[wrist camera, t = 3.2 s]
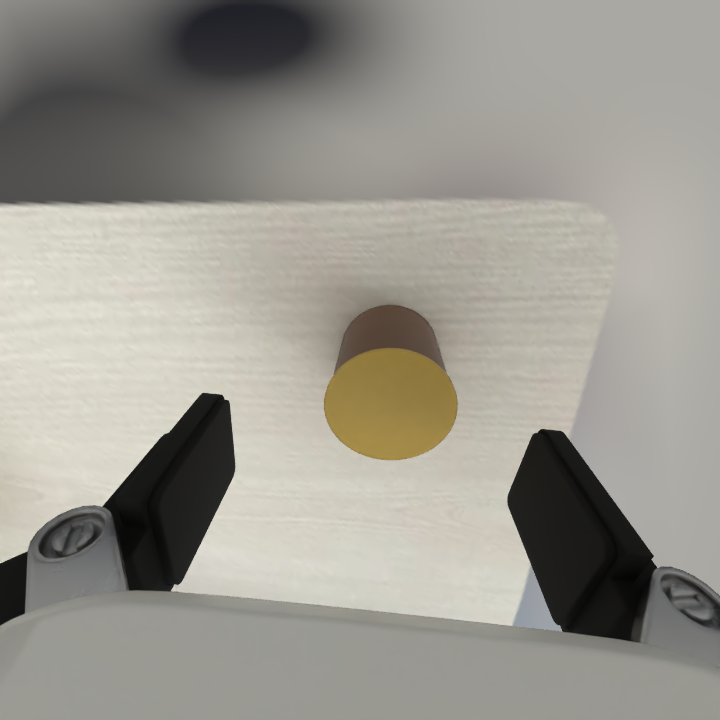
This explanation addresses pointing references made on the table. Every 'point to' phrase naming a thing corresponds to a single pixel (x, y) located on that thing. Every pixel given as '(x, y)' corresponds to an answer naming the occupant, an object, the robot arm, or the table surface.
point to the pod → (390, 386)
